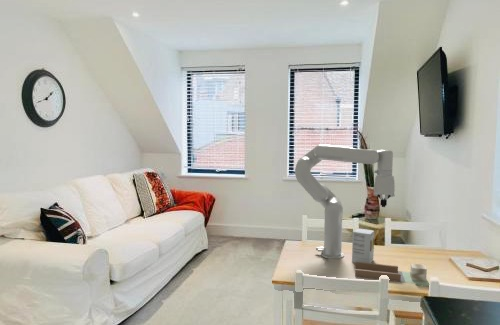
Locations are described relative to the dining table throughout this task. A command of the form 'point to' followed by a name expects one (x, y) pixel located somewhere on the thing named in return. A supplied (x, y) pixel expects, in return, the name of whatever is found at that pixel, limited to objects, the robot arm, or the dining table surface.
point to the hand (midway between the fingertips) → (383, 206)
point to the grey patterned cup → (418, 272)
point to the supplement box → (363, 245)
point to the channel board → (384, 273)
